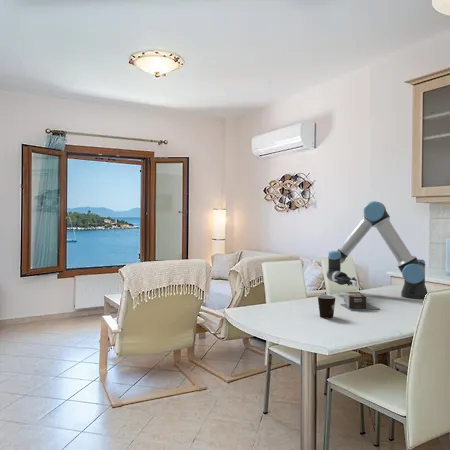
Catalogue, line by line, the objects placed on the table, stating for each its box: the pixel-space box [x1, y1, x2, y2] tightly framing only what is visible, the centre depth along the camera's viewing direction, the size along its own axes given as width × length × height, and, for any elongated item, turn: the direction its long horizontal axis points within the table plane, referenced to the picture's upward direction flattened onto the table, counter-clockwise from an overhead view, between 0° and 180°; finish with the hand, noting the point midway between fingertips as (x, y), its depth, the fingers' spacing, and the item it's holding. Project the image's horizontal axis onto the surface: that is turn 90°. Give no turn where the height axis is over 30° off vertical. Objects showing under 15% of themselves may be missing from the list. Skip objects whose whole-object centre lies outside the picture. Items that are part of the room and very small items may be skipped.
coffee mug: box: [317, 294, 337, 319], centre depth 209 cm, size 12×9×10 cm
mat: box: [340, 302, 381, 312], centre depth 230 cm, size 16×14×1 cm
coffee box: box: [343, 291, 367, 309], centre depth 232 cm, size 9×6×16 cm
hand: (355, 284), depth 235 cm, fingers closed
